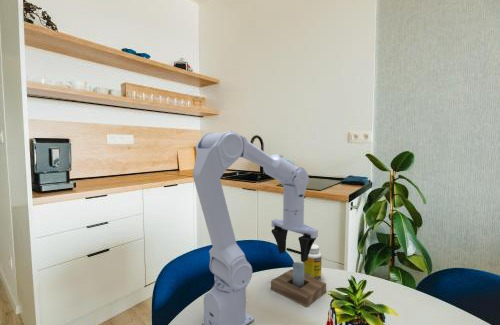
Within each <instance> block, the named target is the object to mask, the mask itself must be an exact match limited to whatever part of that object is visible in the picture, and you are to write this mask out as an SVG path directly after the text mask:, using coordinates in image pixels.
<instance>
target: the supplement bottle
mask: <svg viewBox="0 0 500 325" xmlns="http://www.w3.org/2000/svg"><path fill="white" fill-rule="evenodd" d="M322 257H323V256H322V252H321V251H320V246H319V245H318V244H315V243H313V245H312V247H311V249H310V252H309V255H308V260H307V261H305V262H302V263H303V264H304V274H305V275H307V276H310V277H312V278H315V279H317V280H320V281H321V279H322Z"/></svg>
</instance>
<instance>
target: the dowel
mask: <svg viewBox="0 0 500 325" xmlns="http://www.w3.org/2000/svg"><path fill="white" fill-rule="evenodd" d="M292 270H293V285H295V286H297V287H299V288H302V287H303V286H304V264H303V262H299V261H297V262H293V263H292Z"/></svg>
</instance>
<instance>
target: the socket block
mask: <svg viewBox="0 0 500 325" xmlns="http://www.w3.org/2000/svg"><path fill="white" fill-rule="evenodd" d="M270 290H272V291H274V292H275V293H278V294H279V295H281V296H283V297H286V298H288V299H289V300H292V301H293V302H295V303H298V304H300V305H302V306H303V307H305V308H308V307H309V306H311V305H312V304H313V303H314V302H315V301H317V300H318V299H319V298H320V297H321V296H323V295H324V294H325V293H326V292H327V282H324V281H322V280H321V279H320V280H317V279H315V278H312V277H310V276H307V275H305V274H304V286H303V287H302V288H299V287H297V286H295V285H293V268H292V269H289V270H287V271H286V272H283V273H282V274H280V275H279V276H277V277H275V278H273V279H271V280H270Z"/></svg>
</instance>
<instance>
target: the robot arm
mask: <svg viewBox="0 0 500 325" xmlns="http://www.w3.org/2000/svg"><path fill="white" fill-rule="evenodd" d="M194 147H195V152H196V155H195V160H194V166H193V169H192V171H193V172H192V178H193V182H194V184H195V189H196V192H197V196H198V199H199V204H200V207H201V211H202V214H203V218H204V220H205V224H206V228H207V231H208V235H209V238H210V241H211V242H210V243H211V246H212V247H211V248H210V250H209V251H208V252H209V263H208V264H209V270H210V272H211V273H212V275H214V277H213V278H214V284H213V286H212V287H211V289H210V290H209V291H207V292H205V293H204V297H203V319H202V321H201V323H202V324H203V325H248V324H250V323H252V322H253V321H254V317H253V316H252V315H251V314H249V313H247V305H246V304H247V300H246V299H247V297H246V296H247V295H246V294H247V292H246V291H247V290H246V289H247V287H248V285H249V284H250V282H251V279H252V276H253V266H252V265H251V264H250V262H249V261H248V260H247V258H246V255H245V253H244V251H243V250H242V249H241V247H240V246H239V245H238V244H237V241H236V236H235V232H234V228H233V225H232V220H231V217H230V214H229V208H228V204H227V202H226V198H225V193H224V189H223V186H222V182H221V178H222V177H223V175H224V173H225V172H226V171H227V170H228V169H229V168H230V167H231V166H232V165H233V164H234V163H236V161H237V160H239V159H240V158H243V159H246V160H247V161H249V162H251V163H254V164H255V165H258V166H260V167H262V168H263V172H264V174H265V175H268V176H269V177H271V178H273V179H274V180H277V181H278V182H279V184H280V185H281V186H283V192H282V193H283V196H282V198H283V202H282V203H283V205H282V206H283V207H282V208H283V209H282V211H283V212H282V214H283V215H282V219H278V218H274V219H271V227H272V229H271V234H272V236H273V237H274V239H275V241H276V245H277V248H278V249H277V250H278V254H280V255H282V254H284V253H286V250H287V236H288V232H293V233H295V234H296V233H297V234H299V235H300V234H301V236H299V237H298V241H299V247H300V260H301V262H300V263H303V262H305V261H307V260H308V255H309V252H310V249H311V247H312V245H313V244H315V241H316V239H317V238H318V236H319V230H318V229H317V228H314V227H311V226H309V225H306V224H304V223H305V222H304V221H305V219H304V218H305V217H304V216H305V215H304V214H305V213H304V212H305V211H304V210H305V194H306V192H307V186H308V184H309V181H310V177H309V174H308V172H307V170H306V169H305V168H303V167H300V166H296V165H295V163H293V162H292V161H288V160H286V159H285V158H284V156H283V155H282V154H281V153H280V154H278V153H275V154H271V155H270V154H268V153H267V152H265V151H263V150H262V149H261V148H259V147H258V146H256V145H255V144H254V143H252V142H250V141H249V140H248V139H247V137H245V136H244V135H240V134H239V133H238V132H236V131H232V130H229V131H224V132H209V133H205V134H204V135H203V136H201V138H200V139H199V141H198V142H197V143H196V145H195V146H194Z"/></svg>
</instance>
